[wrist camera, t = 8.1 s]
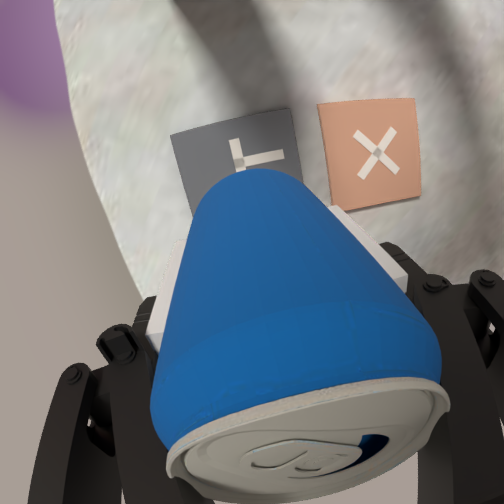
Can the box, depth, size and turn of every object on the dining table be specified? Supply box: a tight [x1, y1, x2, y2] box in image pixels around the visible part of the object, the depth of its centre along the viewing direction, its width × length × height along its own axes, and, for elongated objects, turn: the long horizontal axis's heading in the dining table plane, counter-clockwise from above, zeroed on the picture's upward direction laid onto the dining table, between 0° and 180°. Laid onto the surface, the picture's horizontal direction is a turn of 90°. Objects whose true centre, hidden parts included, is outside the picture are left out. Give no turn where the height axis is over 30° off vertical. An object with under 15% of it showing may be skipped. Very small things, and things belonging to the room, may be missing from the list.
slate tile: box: [170, 108, 303, 217], centre depth 29 cm, size 12×12×1 cm
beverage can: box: [150, 168, 450, 504], centre depth 10 cm, size 6×6×12 cm
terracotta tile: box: [317, 98, 421, 211], centre depth 29 cm, size 12×12×1 cm
